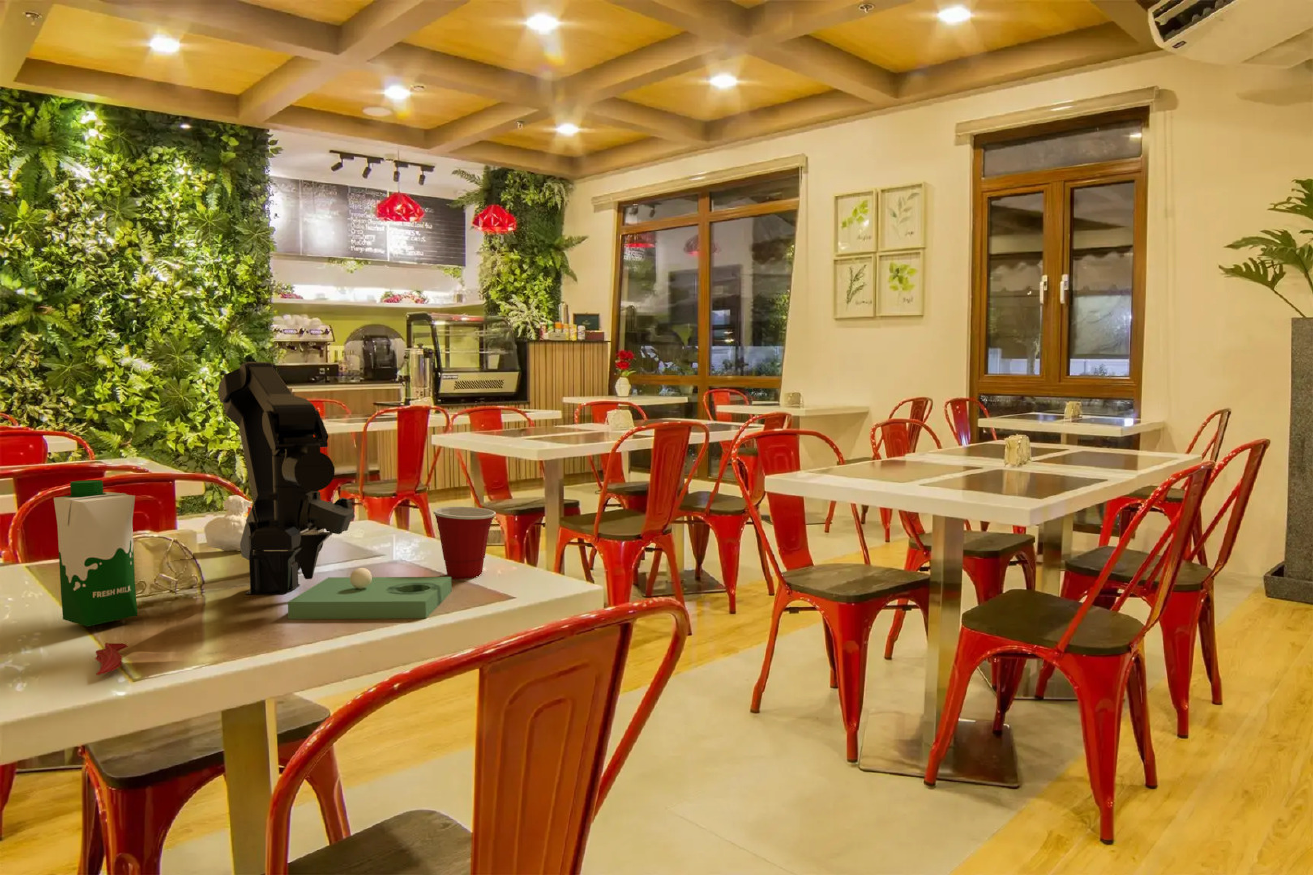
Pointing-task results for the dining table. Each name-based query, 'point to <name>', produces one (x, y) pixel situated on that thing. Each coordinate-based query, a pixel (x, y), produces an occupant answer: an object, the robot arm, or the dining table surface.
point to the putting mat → (371, 598)
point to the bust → (228, 525)
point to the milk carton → (96, 554)
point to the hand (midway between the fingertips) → (296, 585)
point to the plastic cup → (463, 539)
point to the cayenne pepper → (110, 657)
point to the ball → (361, 578)
